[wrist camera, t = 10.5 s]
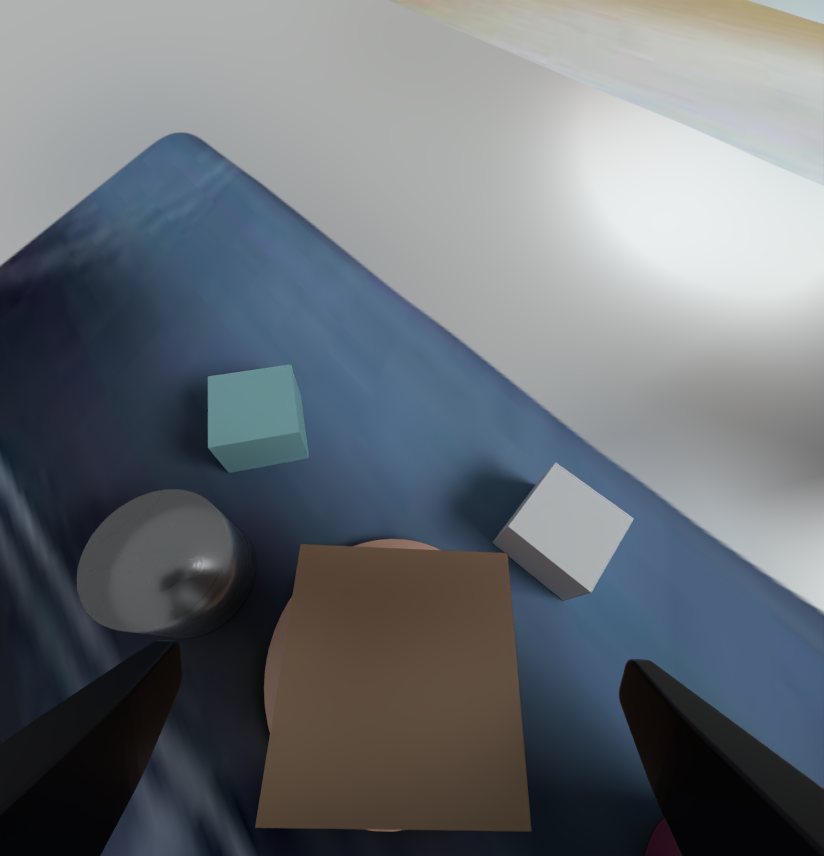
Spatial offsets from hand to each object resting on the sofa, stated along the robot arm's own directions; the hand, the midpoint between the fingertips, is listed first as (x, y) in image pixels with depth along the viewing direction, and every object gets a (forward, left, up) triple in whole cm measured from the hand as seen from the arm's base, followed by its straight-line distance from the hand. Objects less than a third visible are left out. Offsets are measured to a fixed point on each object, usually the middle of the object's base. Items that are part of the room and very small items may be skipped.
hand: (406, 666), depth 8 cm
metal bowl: (+2, +9, -10) cm, 14 cm away
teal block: (+10, +8, -10) cm, 16 cm away
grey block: (+6, -7, -10) cm, 14 cm away
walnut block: (0, 0, -10) cm, 10 cm away
